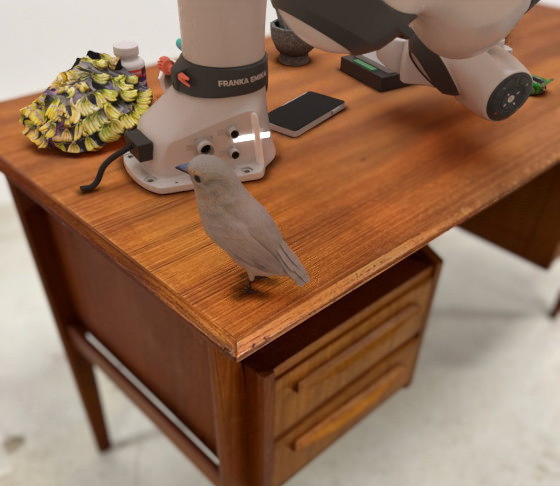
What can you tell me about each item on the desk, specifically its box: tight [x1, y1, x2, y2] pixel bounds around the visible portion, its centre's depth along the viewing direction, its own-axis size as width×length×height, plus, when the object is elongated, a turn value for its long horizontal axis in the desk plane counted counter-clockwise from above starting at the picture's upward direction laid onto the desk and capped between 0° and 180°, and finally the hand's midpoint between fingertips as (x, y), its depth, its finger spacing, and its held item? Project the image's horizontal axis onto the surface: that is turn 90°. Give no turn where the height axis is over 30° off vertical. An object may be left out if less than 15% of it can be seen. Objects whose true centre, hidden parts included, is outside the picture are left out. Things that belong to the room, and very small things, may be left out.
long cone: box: [157, 56, 177, 94], centre depth 106 cm, size 6×6×19 cm
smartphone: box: [268, 90, 346, 138], centre depth 96 cm, size 8×1×15 cm
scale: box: [339, 51, 413, 93], centre depth 111 cm, size 15×13×4 cm
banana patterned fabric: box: [18, 49, 154, 154], centre depth 86 cm, size 20×16×6 cm
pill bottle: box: [112, 40, 149, 87], centre depth 95 cm, size 5×5×10 cm
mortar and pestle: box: [269, 9, 315, 67], centre depth 113 cm, size 11×9×12 cm
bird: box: [175, 154, 311, 298], centre depth 57 cm, size 5×14×15 cm, turn 72°
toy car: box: [530, 73, 555, 96], centre depth 106 cm, size 10×5×2 cm, turn 52°
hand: (420, 31), depth 97 cm, fingers open, 8 cm apart
